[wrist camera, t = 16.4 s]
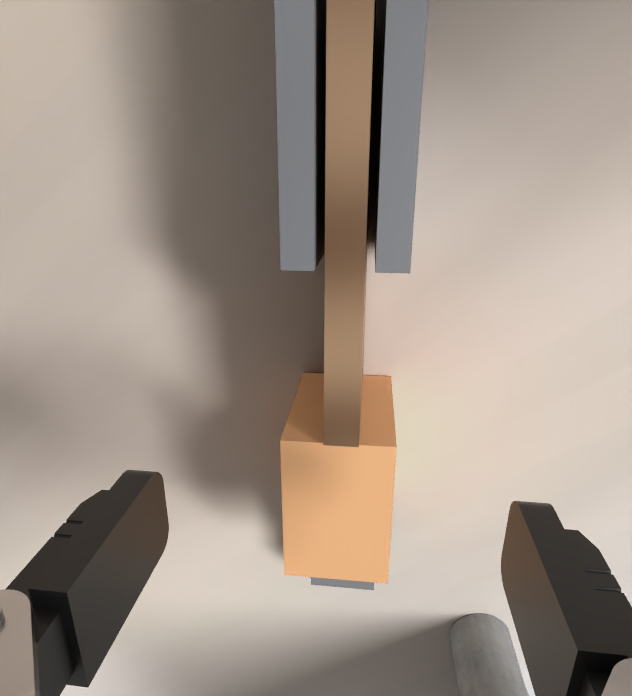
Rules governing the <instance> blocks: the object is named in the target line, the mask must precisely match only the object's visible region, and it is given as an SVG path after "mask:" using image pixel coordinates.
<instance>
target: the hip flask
mask: <svg viewBox="0 0 632 696" xmlns="http://www.w3.org/2000/svg"><path fill="white" fill-rule="evenodd" d="M450 642H451V648H452V654H453V660H454V666H455V673H456V679H457V685H458V691H459V696H529V694H528V692H527V690H526V688H525V684H524V681H523V678H522V674H521V671H520V667H519V664H518V660H517V657H516V654H515V650H514V647H513V643H512V640H511V637H510V633H509V630H508V628H507V626H506V625H505V624H504V623H503V622H502V621H501V620H499V619H498V618H496V617H494V616H491V615H487V614H471V615H467V616H464V617H462V618H460V619H459V620H458V621H456V622H455V623H454V625H453V626H452V628H451V630H450Z"/></svg>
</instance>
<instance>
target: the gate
mask: <svg viewBox="0 0 632 696" xmlns="http://www.w3.org/2000/svg"><path fill="white" fill-rule="evenodd" d="M375 22H376V0H327V15H326V155H325V295H324V434H323V445H328V446H345V447H359V436H360V417H361V399H362V380H363V354H364V327H365V299H366V271H367V244H368V216H369V188H370V161H371V133H372V105H373V78H374V50H375Z"/></svg>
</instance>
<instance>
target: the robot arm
mask: <svg viewBox="0 0 632 696" xmlns="http://www.w3.org/2000/svg"><path fill="white" fill-rule="evenodd" d="M168 531H169V524H168V516H167V508H166V499H165V491H164V483H163V478H162V475H161V474H160V473H159V472H149V471H136V470H127V471H125V472H124V473H123V474H122V475H121V477H120V478H119V479H118V480H117V481H116V483H115V484H114V485H113V486H112V487H111V489H110V490H101V491H99V492H98V493H96V494H95V495H93V496H92V497H90V498H89V499H87V500H85V501H84V502H82V503H81V504H80V505H79V506H78V507H77V509H76V510H75V511H74V512H73V513H72V514H71V515H70V516H69V518H68V519H67V522H66V523H63V524H62V526H61V527H60V528H59V529H58V530H57V531H56V532H55V535H54V537H51V538H50V539H49V540H48V542H47V543H46V544H45V545H44V546H43V547H42V548H41V550H40V551H39V552H38V553H37V554H36V555H35V556H34V557H33V559H32V560H31V561H30V562H29V563H28V564H27V565H26V567H25V568H24V569H23V570H22V571H21V572H20V573H19V575H18V576H17V577H16V578H15V579H14V580H13V581H12V583H11V584H10V585H9V586H8V587H7V588H6V589H5V590H0V696H60V694H61V693H62V691H63V689H64V688H65V686H66V685H74V686H81V687H89V685H90V683H91V681H92V680H93V678H94V676H95V674H96V672H97V671H98V669H99V667H100V665H101V663H102V662H103V660H104V658H105V656H106V654H107V653H108V651H109V649H110V647H111V645H112V644H113V642H114V640H115V638H116V636H117V635H118V633H119V631H120V629H121V627H122V626H123V624H124V622H125V620H126V618H127V617H128V615H129V613H130V611H131V610H132V608H133V606H134V604H135V602H136V601H137V599H138V597H139V595H140V593H141V592H142V590H143V588H144V586H145V584H146V583H147V581H148V579H149V577H150V575H151V574H152V572H153V570H154V568H155V566H156V565H157V563H158V561H159V559H160V557H161V556H162V554H163V552H164V549H165V546H166V543H167V539H168ZM501 574H502V582H503V586H504V590H505V593H506V597H507V600H508V604H509V607H510V610H511V614H512V617H513V621H514V624H515V627H516V631H517V634H518V638H519V641H520V644H521V648H522V651H523V655H524V658H525V661H526V665H527V668H528V672H529V675H530V678H531V682H532V685H533V689H534V692H535V695H536V696H632V607H631V605H630V603H629V602H628V600H627V598H626V596H625V595H624V593H621V588H620V586H619V584H618V582H617V581H616V579H615V577H614V575H611V570H610V568H609V567H608V565H607V563H606V561H605V559H604V558H603V556H602V554H601V552H600V551H599V549H598V548H597V547H596V546H595V545H593V544H592V543H591V542H590V541H589V540H588V539H587V538H586V537H585V536H584V535H582V534H581V533H580V532H579V531H578V530H566V529H564V528H563V526H562V524H561V522H560V520H559V518H558V516H557V514H556V512H555V510H554V508H553V506H552V505H551V504H548V503H535V502H522V501H513V502H512V504H511V506H510V511H509V516H508V522H507V528H506V534H505V539H504V545H503V551H502V558H501Z"/></svg>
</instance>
